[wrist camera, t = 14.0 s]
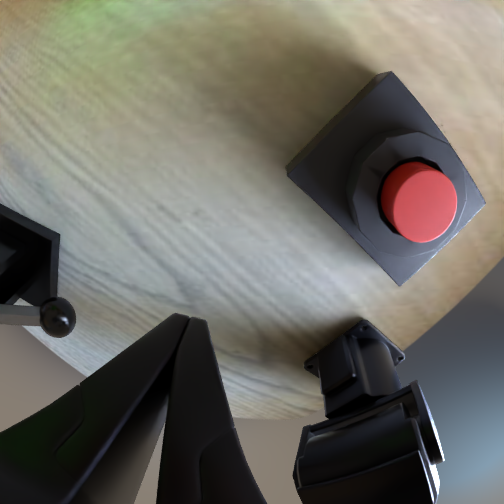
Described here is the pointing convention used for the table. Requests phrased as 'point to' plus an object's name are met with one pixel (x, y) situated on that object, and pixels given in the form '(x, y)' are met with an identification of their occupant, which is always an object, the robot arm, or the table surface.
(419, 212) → the button
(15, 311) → the lever
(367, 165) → the control block
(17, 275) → the bracket
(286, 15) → the table surface
